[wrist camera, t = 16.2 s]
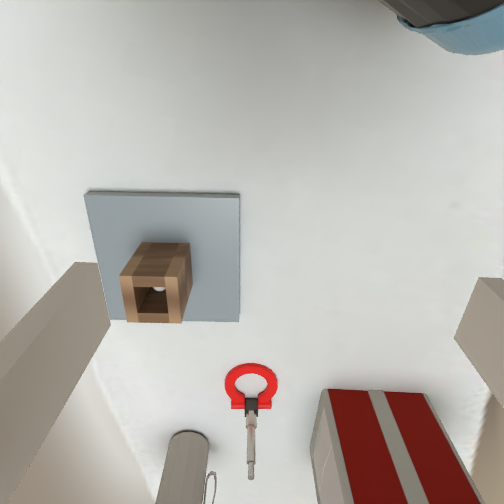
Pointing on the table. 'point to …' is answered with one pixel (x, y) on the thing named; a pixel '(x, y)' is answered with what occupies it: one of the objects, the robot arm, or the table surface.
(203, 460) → the water bottle
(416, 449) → the striped mailbox
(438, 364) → the table surface
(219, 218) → the pin plate
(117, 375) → the table surface
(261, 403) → the tow hook
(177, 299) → the block
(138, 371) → the table surface
